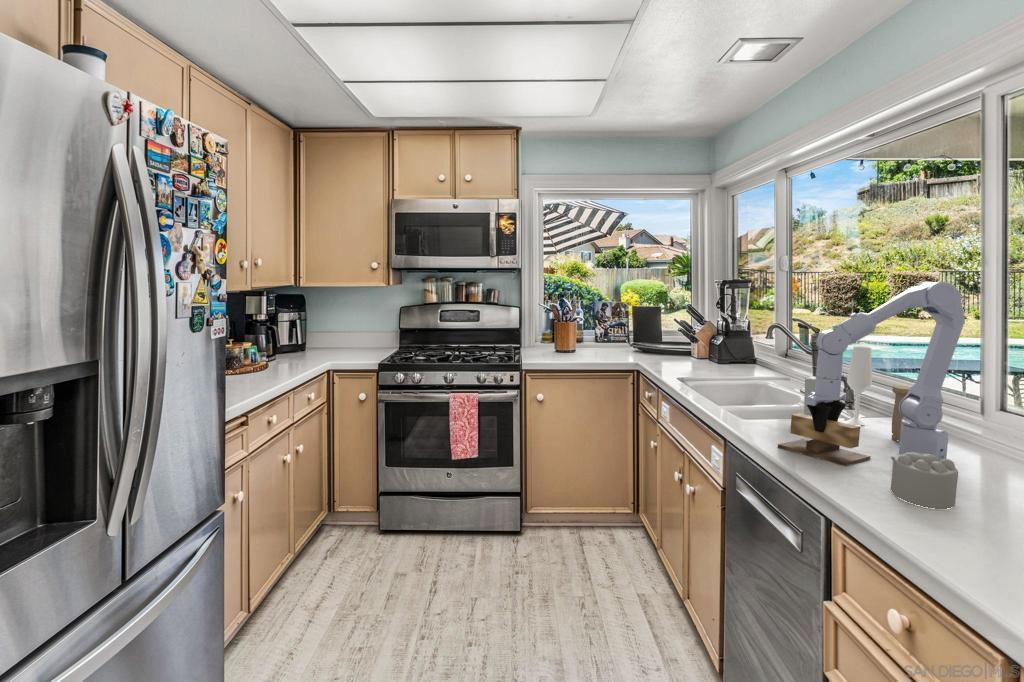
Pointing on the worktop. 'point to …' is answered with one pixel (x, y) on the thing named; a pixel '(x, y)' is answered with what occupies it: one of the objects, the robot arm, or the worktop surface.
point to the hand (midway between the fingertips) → (824, 430)
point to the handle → (897, 417)
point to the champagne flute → (859, 377)
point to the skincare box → (809, 392)
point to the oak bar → (826, 431)
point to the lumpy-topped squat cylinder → (924, 480)
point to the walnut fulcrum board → (824, 451)
